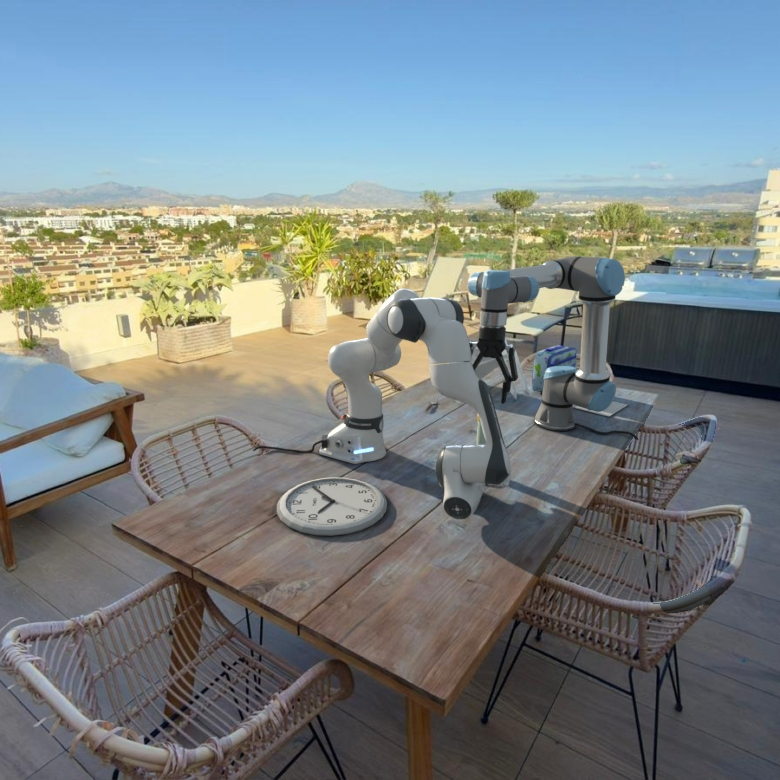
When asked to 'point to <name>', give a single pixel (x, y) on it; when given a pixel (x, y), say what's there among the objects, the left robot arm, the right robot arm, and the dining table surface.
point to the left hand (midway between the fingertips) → (478, 461)
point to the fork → (432, 403)
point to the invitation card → (607, 409)
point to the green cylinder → (480, 435)
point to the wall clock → (331, 506)
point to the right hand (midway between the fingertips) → (487, 399)
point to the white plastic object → (491, 364)
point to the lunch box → (551, 363)
